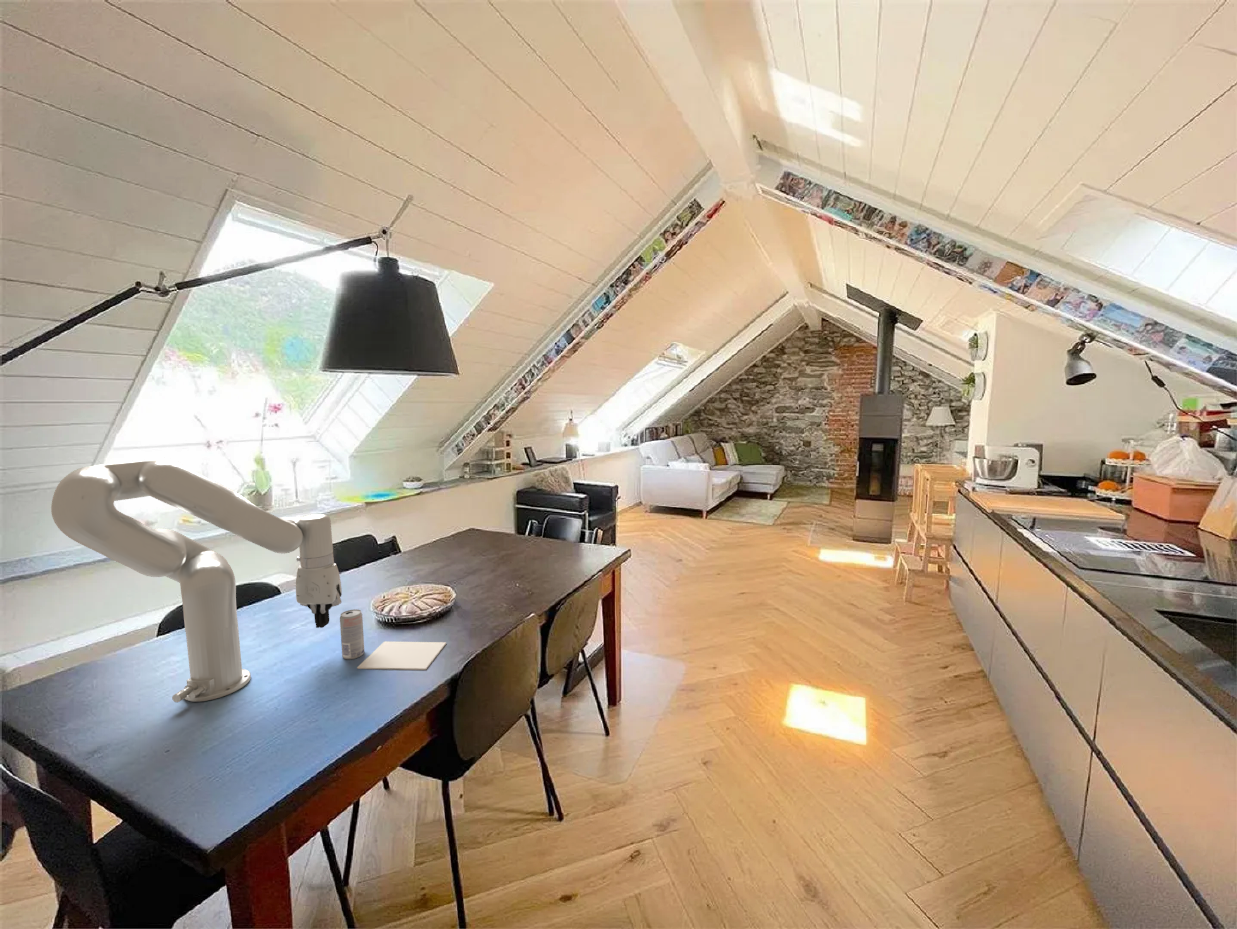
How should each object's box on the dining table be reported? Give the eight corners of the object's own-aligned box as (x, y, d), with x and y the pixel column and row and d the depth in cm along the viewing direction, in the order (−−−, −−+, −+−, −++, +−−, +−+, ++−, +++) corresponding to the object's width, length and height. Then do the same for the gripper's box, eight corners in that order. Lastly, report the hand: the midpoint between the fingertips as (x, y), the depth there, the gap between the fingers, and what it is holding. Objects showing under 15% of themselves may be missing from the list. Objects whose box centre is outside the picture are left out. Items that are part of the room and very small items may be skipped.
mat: (425, 669, 124) (425, 668, 124) (357, 668, 125) (357, 667, 125) (446, 643, 138) (446, 642, 138) (384, 642, 139) (384, 641, 139)
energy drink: (359, 648, 136) (357, 607, 134) (367, 654, 132) (365, 612, 131) (339, 655, 131) (336, 613, 130) (347, 662, 128) (344, 619, 127)
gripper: (279, 565, 125) (285, 632, 128) (336, 565, 125) (341, 632, 127) (299, 556, 133) (304, 619, 135) (352, 556, 133) (357, 619, 135)
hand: (322, 625), depth 131 cm, fingers closed
